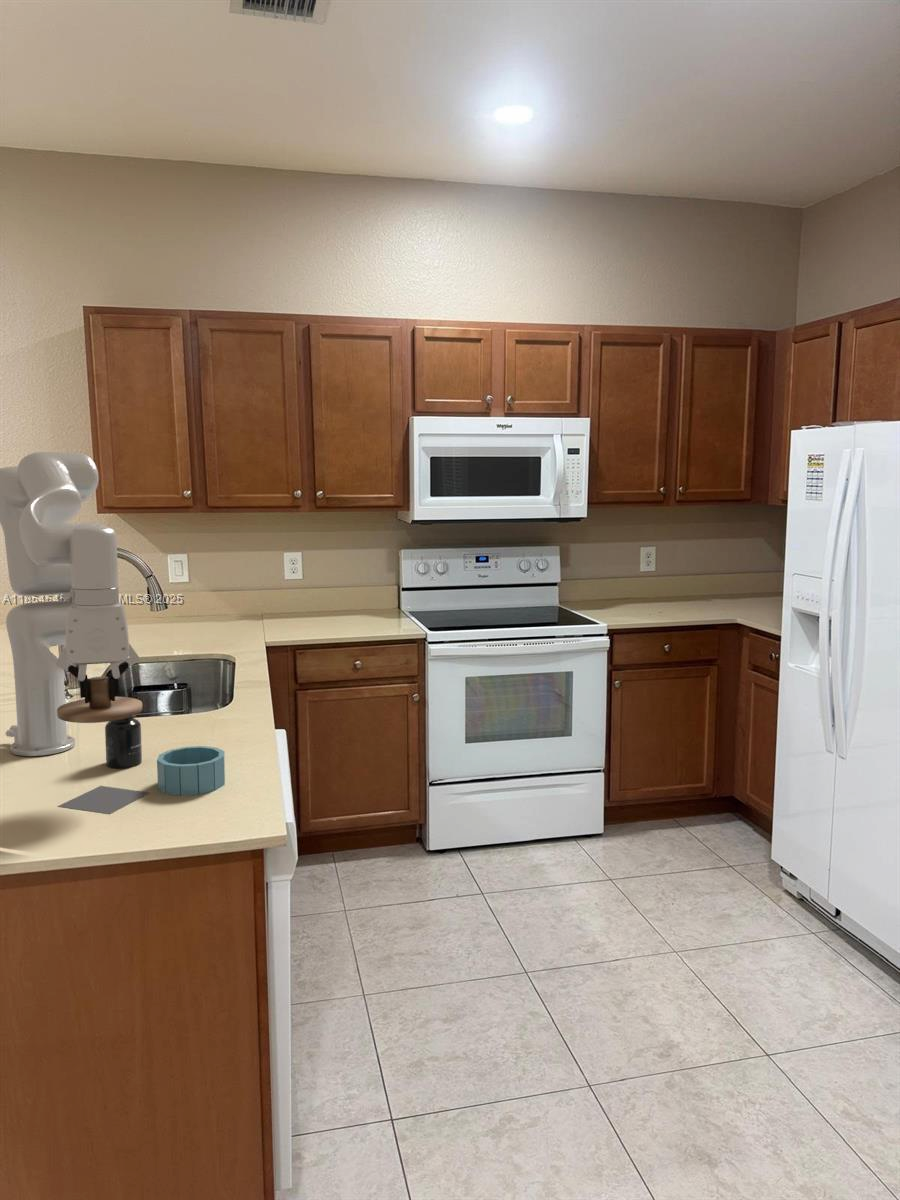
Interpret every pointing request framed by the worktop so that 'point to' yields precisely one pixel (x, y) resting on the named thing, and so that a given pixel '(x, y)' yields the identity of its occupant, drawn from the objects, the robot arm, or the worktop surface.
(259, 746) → the worktop surface
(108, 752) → the supplement bottle
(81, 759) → the worktop surface
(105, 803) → the rubber mat
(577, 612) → the worktop surface
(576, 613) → the worktop surface
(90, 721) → the walnut lid
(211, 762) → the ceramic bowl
